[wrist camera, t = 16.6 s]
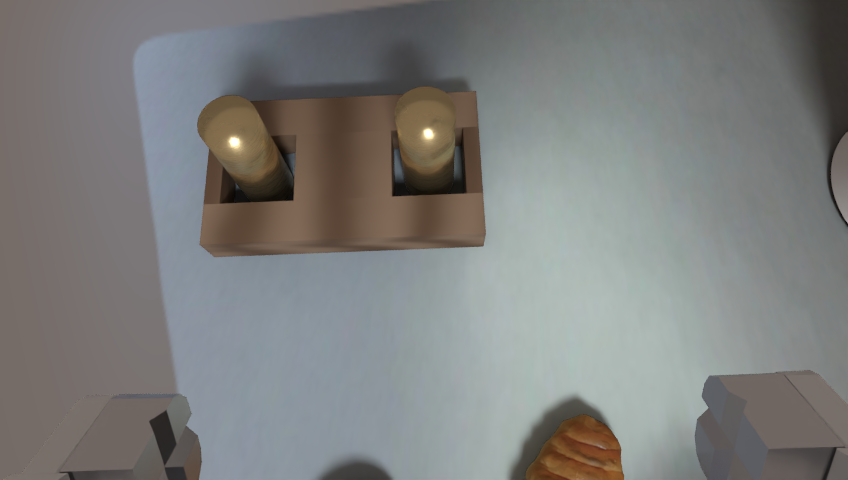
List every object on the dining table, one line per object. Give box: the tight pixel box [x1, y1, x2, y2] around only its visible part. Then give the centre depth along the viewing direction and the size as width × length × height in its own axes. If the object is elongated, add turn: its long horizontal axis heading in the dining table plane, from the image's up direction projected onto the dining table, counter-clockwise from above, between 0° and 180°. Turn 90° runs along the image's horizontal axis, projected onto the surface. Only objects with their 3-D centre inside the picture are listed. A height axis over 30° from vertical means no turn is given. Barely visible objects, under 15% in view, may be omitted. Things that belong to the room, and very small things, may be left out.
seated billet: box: [197, 95, 294, 202], centre depth 44 cm, size 4×4×10 cm
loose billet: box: [395, 86, 456, 196], centre depth 44 cm, size 4×4×10 cm
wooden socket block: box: [200, 91, 486, 257], centre depth 47 cm, size 21×12×3 cm, turn 92°
